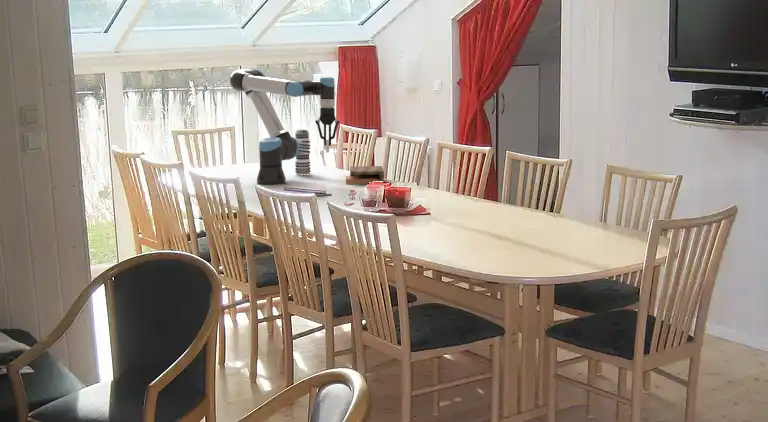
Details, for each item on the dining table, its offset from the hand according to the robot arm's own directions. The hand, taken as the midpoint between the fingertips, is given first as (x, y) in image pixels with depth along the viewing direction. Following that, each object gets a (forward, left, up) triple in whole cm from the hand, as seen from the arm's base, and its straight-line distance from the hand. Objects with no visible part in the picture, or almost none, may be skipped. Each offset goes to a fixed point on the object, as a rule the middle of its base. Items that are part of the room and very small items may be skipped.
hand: (327, 152), depth 502 cm
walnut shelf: (+20, 0, -16) cm, 26 cm away
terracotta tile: (+17, -1, -17) cm, 24 cm away
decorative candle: (-14, +32, -16) cm, 38 cm away
